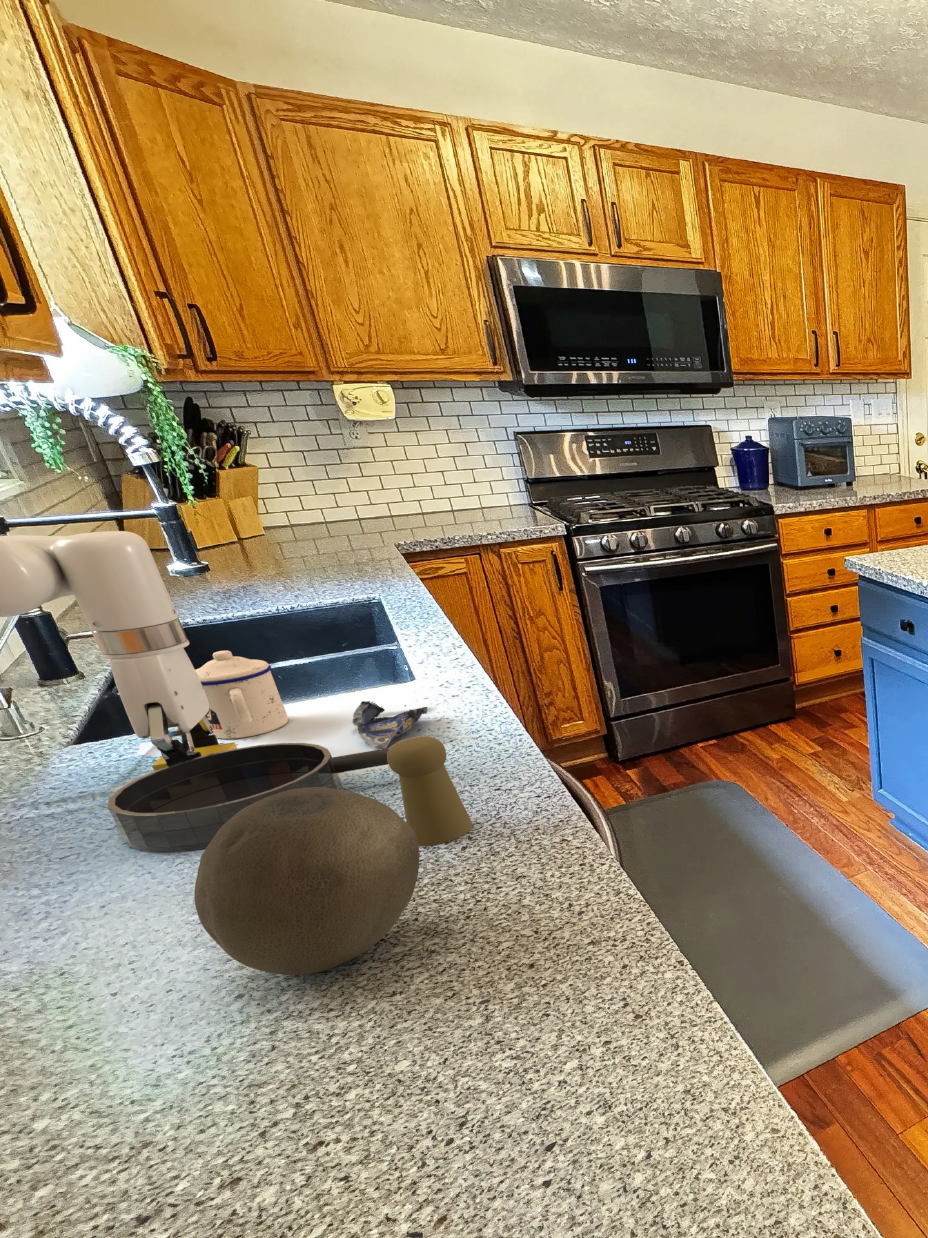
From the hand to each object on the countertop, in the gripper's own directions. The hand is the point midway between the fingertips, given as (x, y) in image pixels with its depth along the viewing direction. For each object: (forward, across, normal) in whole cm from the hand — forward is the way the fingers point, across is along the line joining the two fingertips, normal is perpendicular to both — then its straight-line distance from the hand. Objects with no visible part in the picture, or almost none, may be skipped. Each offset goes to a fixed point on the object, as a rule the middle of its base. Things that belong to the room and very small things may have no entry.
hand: (202, 773), depth 103 cm
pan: (0, +15, +7) cm, 17 cm away
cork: (+1, +33, +28) cm, 43 cm away
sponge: (0, 0, 0) cm, 0 cm away
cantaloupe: (+1, +54, +22) cm, 58 cm away
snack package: (+1, -4, +20) cm, 20 cm away
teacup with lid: (0, -16, +2) cm, 16 cm away
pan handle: (-2, +15, +22) cm, 27 cm away
